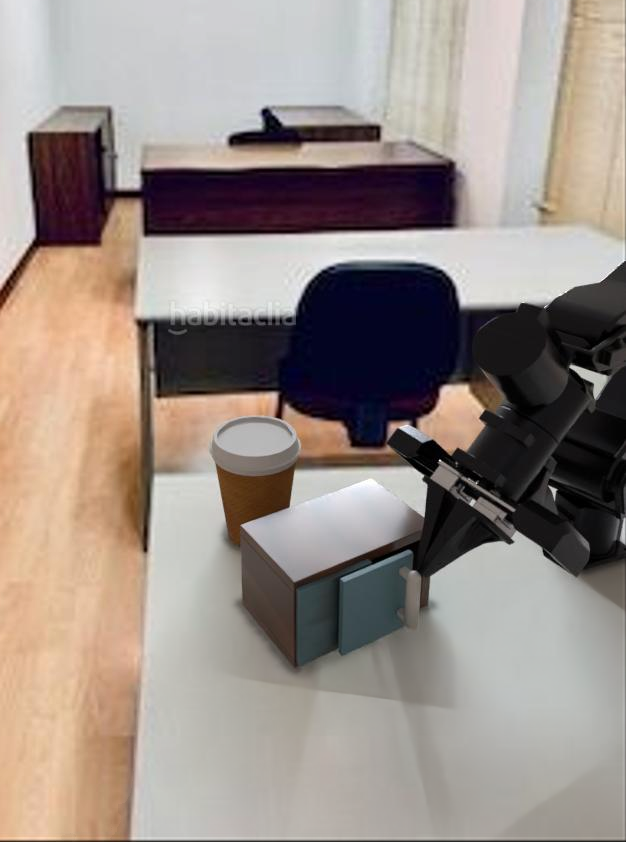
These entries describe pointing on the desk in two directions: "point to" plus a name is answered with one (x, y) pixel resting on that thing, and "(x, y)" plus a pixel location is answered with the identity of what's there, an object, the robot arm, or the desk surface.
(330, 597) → the cabinet
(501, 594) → the desk surface
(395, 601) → the sliding door
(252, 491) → the disposable coffee cup
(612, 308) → the robot arm
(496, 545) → the desk surface
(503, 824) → the desk surface
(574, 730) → the desk surface
